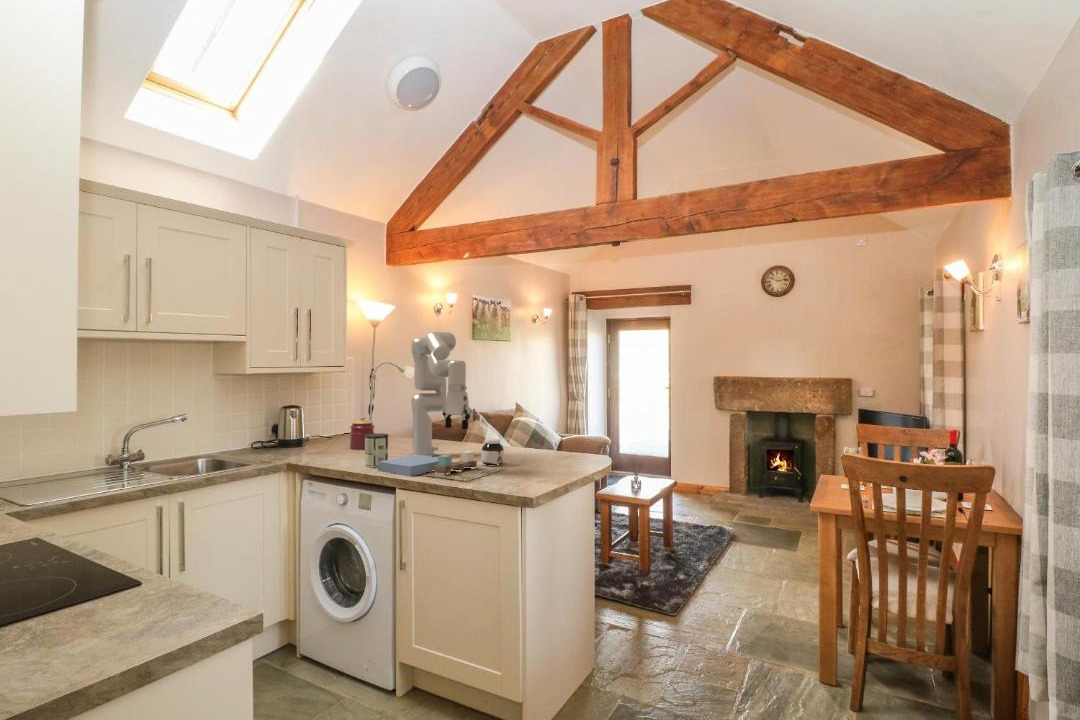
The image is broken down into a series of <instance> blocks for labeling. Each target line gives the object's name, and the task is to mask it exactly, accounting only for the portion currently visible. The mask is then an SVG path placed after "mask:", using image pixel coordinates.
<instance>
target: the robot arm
mask: <svg viewBox="0 0 1080 720" xmlns="http://www.w3.org/2000/svg"><path fill="white" fill-rule="evenodd" d="M456 340H457V339H456V337H455V335H454V334H453V333H452V332H446V331H444V332H443V331H432V332H429V333H427V334H426V336H425V337H415V338H414V339H413V340H412V342H411V355H412V359H413V363H414V376H413V377H414V378H413V379H414V380H413V381H414V387H415V389H416V390H417V391H423V392H422V393H419V392H418V393H416V394H414V395H413V396H412V397H411V400H410V404H411V405H410V406H411V412H412V452H410V453H409V455H408V457H409V456H415V455H425V456H433V457H435V456H434V455H436V453H435V451H438V450H439V447H438V446H433V440H432V439H433V421H432V418H431V416H430V415H429V414H428V413H437V412H441V413H442V416H443V418H444V420H445V422H444V423H445V424H444V425H445V429H451V428H452V418H451V417H452V416H460V417H461V418H462V420H461V429H462V430H468V429H469V420H470V418H471V417H472V413H473V411H474V410H473V409H472V408H470V402H469V396H468V392H466V391H467V389H468V387H467V386H466V385H467V384H466V383H467V381H466V379H467V378H466V377H467V376H466V375H467V374H466V373H467V371H466V368H467V365H466V364H467V363H466V362H465V360H454V359H453V360H451V359H448V357H449V356H450V355H451V351H453V350H454V349H455V347H456V345H457V341H456ZM447 359H448V360H447ZM446 378H447V379H448V382H447V379H446ZM425 391H429V392H430V393H429V392H425ZM431 391H434V392H435V393H434V392H433V393H432V392H431Z"/></svg>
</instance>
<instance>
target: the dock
mask: <svg viewBox="0 0 1080 720" xmlns="http://www.w3.org/2000/svg"><path fill="white" fill-rule="evenodd" d="M435 465H438V456H433V457H432V456H425V455H415V456H409V455H408V456H403V457H397V458H393V459H392V458H391V459H388V460H385V461H379V462H378V467H377V471H378V472H381V473H382V472H383V473H388V472H389V474H394V473H395V475H401V476H406V477H413V476H418V475H422V474H423V473H424V474H427V473H426V472H429V471H432V470H435ZM429 473H430V472H429Z"/></svg>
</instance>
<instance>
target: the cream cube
mask: <svg viewBox="0 0 1080 720" xmlns="http://www.w3.org/2000/svg"><path fill="white" fill-rule="evenodd" d="M474 455H475V453H474V451H469V450H465V451H464V450H463V451H460V461H463V462H470V461H475V460H474Z"/></svg>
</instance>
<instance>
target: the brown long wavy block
mask: <svg viewBox="0 0 1080 720" xmlns="http://www.w3.org/2000/svg"><path fill="white" fill-rule="evenodd" d="M477 463H478V462H477V460H474V461H470V462H463V461H461V460H456V461H452V465H450V466H438V465H435V471H434V473H435V472H437V473H444V474H446V473H449V472H450V473H451V471H450V470H451V469H453V470H463V469H464V470H465V468H464V467H476V466H477V467H478V464H477Z"/></svg>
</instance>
